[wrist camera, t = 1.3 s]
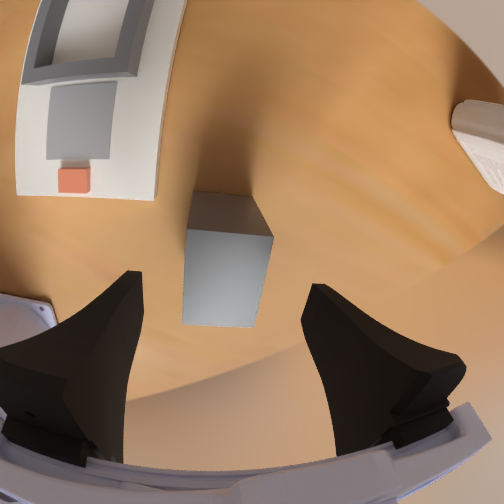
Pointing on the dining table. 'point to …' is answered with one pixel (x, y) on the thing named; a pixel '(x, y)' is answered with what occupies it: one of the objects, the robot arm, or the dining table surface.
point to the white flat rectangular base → (95, 97)
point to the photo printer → (482, 138)
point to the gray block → (224, 260)
